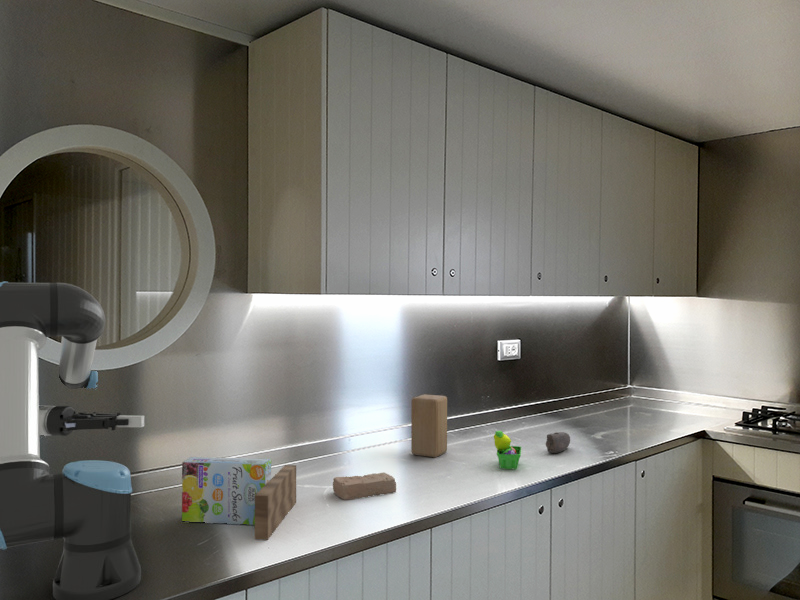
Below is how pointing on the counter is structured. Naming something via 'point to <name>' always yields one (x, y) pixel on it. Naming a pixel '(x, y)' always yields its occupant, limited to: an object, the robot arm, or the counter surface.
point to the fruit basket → (506, 451)
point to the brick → (363, 485)
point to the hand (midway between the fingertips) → (142, 421)
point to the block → (429, 425)
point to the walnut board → (275, 502)
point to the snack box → (222, 489)
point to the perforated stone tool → (557, 442)
